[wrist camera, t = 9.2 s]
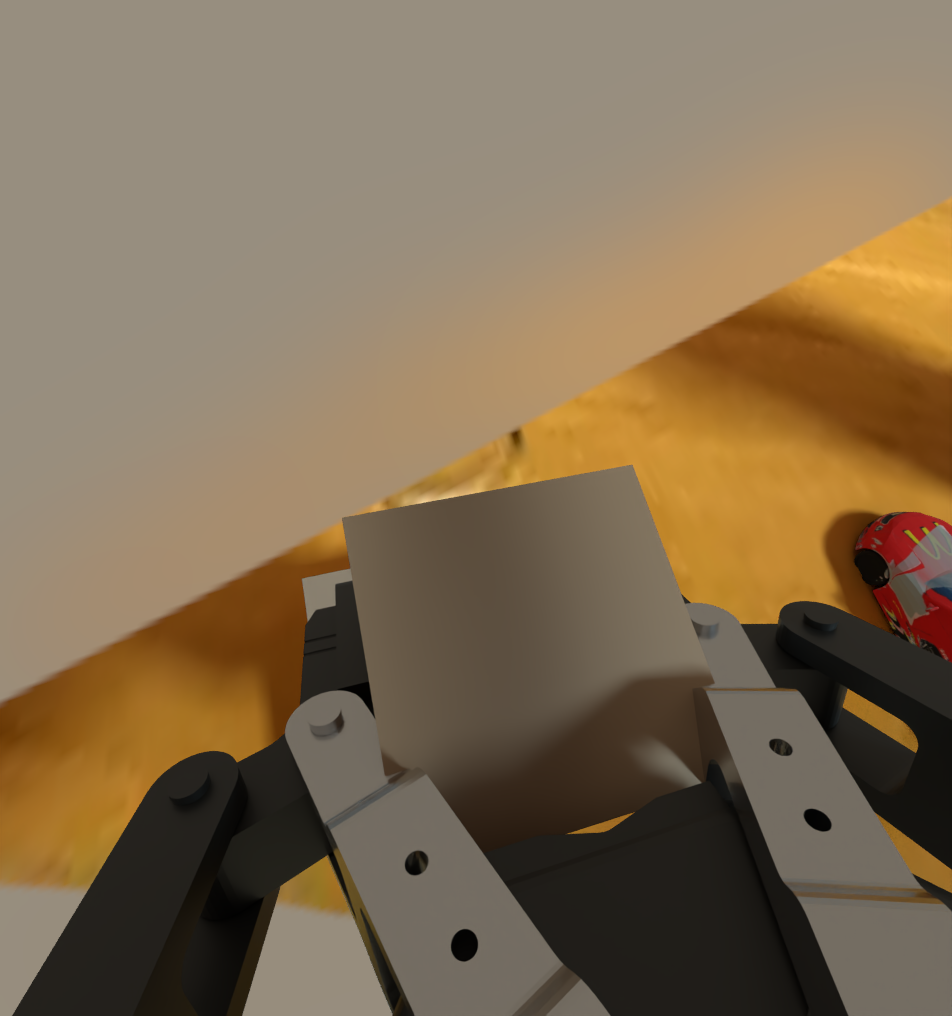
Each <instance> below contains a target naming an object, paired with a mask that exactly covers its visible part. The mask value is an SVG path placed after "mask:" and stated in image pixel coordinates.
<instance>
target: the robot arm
mask: <svg viewBox="0 0 952 1016" xmlns="http://www.w3.org/2000/svg"><path fill="white" fill-rule="evenodd" d="M681 595H682V594H681ZM682 597H683V600H684V603H685V605H686V608H687V611H688V613H689V616H690V619H691V621H692V624H693V627H694V629H695V632H696V635H697V637H698V640H699V642H700V645H701V648H702V650H703V653H704V656H705V658H706V661H707V664H708V666H709V669H710V672H711V674H712V677H713V680H714V682H715V684H711V685H708V686H703V687H699V688H693V689H692V691H693V699H694V706H695V714H696V722H697V729H698V737H699V744H700V752H701V760H702V767H703V775H704V782H703V783H700V784H697V785H694V786H691V787H687V788H684V789H681V790H678V791H675V792H672V793H669V794H666V795H663V796H660V797H656V798H655V799H653V800H652V801H651V802H649V803H648V804H646V805H645V806H643V807H642V808H641V809H639V810H638V811H636V812H635V813H633V814H632V815H631V816H629V817H628V818H626V819H625V820H624V821H622V822H621V823H619V824H618V825H616V826H615V827H614V828H612V829H610V830H609V831H606V832H601V833H584V834H563V835H542V836H535V837H532V838H529V839H526V840H523V841H520V842H517V843H514V844H510V845H507V846H504V847H501V848H498V849H495V850H492V851H489V852H486V853H482V851H481V850H480V849H479V847H478V846H477V844H476V843H475V841H474V840H473V839H472V837H471V836H470V834H469V833H468V832H467V830H466V829H465V827H464V826H463V825H462V823H461V822H460V820H459V819H458V818H457V816H456V815H455V813H454V812H453V811H452V809H451V808H450V806H449V805H448V804H447V802H446V801H445V799H444V798H443V797H442V795H441V794H440V792H439V791H438V790H437V788H436V787H435V785H434V784H433V783H432V781H431V780H430V778H429V777H428V776H427V774H426V773H425V772H424V771H423V770H422V769H421V768H419V767H416V768H414V769H413V770H410V769H406V770H404V771H401V772H398V773H395V774H392V775H388V776H385V774H384V768H383V762H382V756H381V750H380V744H379V738H378V732H377V726H376V720H375V714H374V708H373V702H372V696H371V690H370V684H369V678H368V672H367V666H366V660H365V654H364V648H363V642H362V636H361V629H360V623H359V617H358V611H357V605H356V599H355V593H354V587H353V581H348V582H343V583H338V584H335V604H336V606H331V607H327V608H322V609H317V610H315V612H314V613H313V615H312V616H311V618H310V619H309V621H308V622H307V624H306V625H305V640H304V641H305V644H304V657H303V669H302V684H301V699H300V706H299V707H298V708H297V709H296V710H295V711H294V712H293V714H292V715H291V716H290V718H289V720H288V722H287V724H286V729H285V734H284V735H283V736H281V737H280V738H279V739H278V740H277V741H275V742H274V743H272V744H271V745H269V746H268V747H266V748H264V749H262V750H261V751H259V752H257V753H255V754H253V755H251V756H249V757H247V758H245V759H243V760H241V761H239V762H236V761H235V759H234V758H233V757H232V756H231V755H229V754H227V753H224V752H219V751H209V752H203V753H199V754H196V755H193V756H190V757H188V758H186V759H184V760H182V761H180V762H178V763H177V764H175V765H174V766H172V767H171V768H170V769H168V770H167V771H166V772H164V773H163V774H162V775H161V776H160V777H159V778H158V779H157V780H156V781H155V783H154V784H153V785H152V786H151V788H150V789H149V791H148V792H147V794H146V795H145V797H144V799H143V800H142V802H141V804H140V805H139V807H138V808H137V810H136V812H135V813H134V815H133V817H132V818H131V820H130V822H129V823H128V825H127V827H126V828H125V830H124V832H123V833H122V835H121V837H120V838H119V840H118V842H117V843H116V845H115V847H114V848H113V850H112V851H111V853H110V855H109V856H108V858H107V860H106V861H105V863H104V865H103V866H102V868H101V870H100V871H99V873H98V875H97V876H96V878H95V880H94V881H93V883H92V885H91V886H90V888H89V890H88V891H87V893H86V894H85V896H84V898H83V899H82V901H81V903H80V904H79V906H78V908H77V909H76V911H75V913H74V914H73V916H72V918H71V919H70V921H69V923H68V924H67V926H66V928H65V929H64V931H63V933H62V934H61V936H60V937H59V939H58V941H57V942H56V944H55V946H54V948H53V949H52V951H51V952H50V954H49V956H48V957H47V959H46V961H45V962H44V964H43V966H42V967H41V969H40V971H39V972H38V974H37V976H36V977H35V979H34V980H33V982H32V984H31V986H30V987H29V989H28V990H27V992H26V994H25V995H24V997H23V999H22V1000H21V1002H20V1004H19V1005H18V1007H17V1009H16V1010H15V1012H14V1014H13V1015H12V1016H242V1014H243V1011H244V1007H245V1004H246V1001H247V997H248V994H249V991H250V987H251V984H252V981H253V977H254V974H255V971H256V967H257V964H258V961H259V957H260V954H261V951H262V947H263V944H264V941H265V937H266V934H267V930H268V927H269V924H270V920H271V917H272V913H273V910H274V907H275V904H276V900H277V897H278V894H279V890H280V886H281V885H283V884H284V883H286V882H287V881H289V880H290V879H292V878H293V877H295V876H296V875H298V874H299V873H301V872H302V871H304V870H305V869H307V868H308V867H310V866H312V865H313V864H315V863H316V862H318V861H319V860H321V859H322V858H324V857H325V856H327V858H328V860H329V862H330V865H331V867H332V869H333V872H334V874H335V876H336V879H337V881H338V883H339V886H340V888H341V890H342V893H343V895H344V897H345V900H346V902H347V904H348V907H349V909H350V911H351V914H352V916H353V918H354V920H355V923H356V925H357V927H358V930H359V932H360V935H361V937H362V940H363V942H364V945H365V947H366V950H367V953H368V955H369V958H370V961H371V963H372V966H373V968H374V971H375V973H376V976H377V978H378V981H379V983H380V985H381V988H382V991H383V993H384V995H385V998H386V1000H387V1002H388V1005H389V1007H390V1010H391V1012H392V1014H393V1016H952V893H950V892H948V891H946V890H944V889H942V888H940V887H938V886H936V885H934V884H932V883H930V882H928V881H926V880H924V879H922V878H920V877H918V876H916V875H914V874H912V873H911V872H910V870H909V868H908V867H907V865H906V863H905V862H904V860H903V859H902V857H901V855H900V854H899V852H898V850H897V849H896V847H895V845H894V844H893V842H892V841H891V839H890V837H889V836H888V834H887V832H886V831H885V829H884V828H883V826H882V824H881V823H880V821H879V819H878V818H877V816H876V814H875V813H877V814H878V815H879V816H881V817H882V818H883V819H885V820H886V821H887V822H889V823H890V824H891V825H893V826H894V827H895V828H897V829H898V830H899V831H901V832H902V833H903V834H905V835H906V836H907V837H909V838H910V839H911V840H913V841H914V842H916V843H917V844H918V845H920V846H921V847H922V848H924V849H925V850H926V851H928V852H929V853H930V854H932V855H933V856H934V857H936V858H937V859H938V860H940V861H941V862H942V863H944V864H945V865H946V866H948V867H949V868H950V869H952V663H951V662H949V661H947V660H945V659H943V658H941V657H939V656H937V655H935V654H933V653H930V652H928V651H926V650H924V649H922V648H920V647H918V646H916V645H914V644H912V643H910V642H907V641H905V640H903V639H901V638H899V637H897V636H895V635H893V634H891V633H889V632H887V631H884V630H882V629H880V628H878V627H876V626H874V625H872V624H870V623H868V622H866V621H863V620H861V619H859V618H857V617H855V616H853V615H851V614H849V613H847V612H845V611H843V610H840V609H838V608H836V607H833V606H830V605H827V604H823V603H818V602H809V601H800V602H793V603H790V604H787V605H786V606H784V607H783V608H782V609H781V611H780V615H779V620H778V624H740V623H739V621H738V620H737V619H736V618H735V617H734V616H733V615H732V614H730V613H729V612H727V611H725V610H724V609H721V608H719V607H716V606H713V605H709V604H703V603H690V602H689V601H688V600H687V599H686V598H685V597H684V596H683V595H682ZM847 689H850V690H851V691H853V692H855V693H857V694H858V695H860V696H862V697H863V698H865V699H867V700H868V701H870V702H872V703H874V704H875V705H877V706H879V707H880V708H882V709H884V710H885V711H887V712H889V713H890V714H892V715H894V716H896V717H897V718H899V719H900V720H902V721H903V722H904V723H906V724H907V725H908V726H909V727H910V728H911V730H912V731H913V732H914V734H915V735H916V738H917V740H918V750H917V752H916V753H915V752H913V751H912V750H910V749H908V748H907V747H905V746H903V745H902V744H900V743H899V742H897V741H895V740H894V739H892V738H891V737H889V736H887V735H886V734H884V733H883V732H881V731H879V730H878V729H876V728H875V727H873V726H871V725H870V724H868V723H867V722H865V721H863V720H862V719H860V718H859V717H857V716H855V715H854V714H852V713H851V712H849V711H847V710H846V709H844V708H843V703H844V700H845V696H846V692H847ZM874 812H875V813H874Z"/></svg>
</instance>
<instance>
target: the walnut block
mask: <svg viewBox="0 0 952 1016" xmlns="http://www.w3.org/2000/svg"><path fill="white" fill-rule="evenodd" d="M342 521H343V527H344V533H345V539H346V545H347V551H348V557H349V563H350V569H351V575H352V581H353V587H354V593H355V599H356V605H357V611H358V617H359V623H360V629H361V636H362V642H363V648H364V654H365V660H366V666H367V672H368V678H369V684H370V690H371V696H372V702H373V708H374V714H375V720H376V726H377V732H378V738H379V744H380V750H381V756H382V762H383V768H384V774H385V776H388V775H392V774H395V773H398V772H401V771H404V770H406V769H410V770H413V769H414V768H416V767H419V768H421V769H422V770H423V771H424V772H425V773H426V774H427V776H428V777H429V778H430V780H431V781H432V783H433V784H434V785H435V787H436V788H437V790H438V791H439V792H440V794H441V795H442V797H443V798H444V799H445V801H446V802H447V804H448V805H449V806H450V808H451V809H452V811H453V812H454V813H455V815H456V816H457V818H458V819H459V820H460V822H461V823H462V825H463V826H464V827H465V829H466V830H467V832H468V833H469V834H470V836H471V837H472V839H473V840H474V841H475V843H476V844H477V846H478V847H479V849H480V850H481V851H482V853H486V852H489V851H492V850H495V849H498V848H501V847H504V846H507V845H510V844H514V843H517V842H520V841H523V840H526V839H529V838H532V837H535V836H542V835H563V834H568V833H571V832H574V831H577V830H580V829H583V828H586V827H589V826H592V825H595V824H599V823H602V822H605V821H608V820H611V819H614V818H617V817H620V816H623V815H626V814H630V813H633V812H636V811H638V810H639V809H641V808H642V807H643V806H645V805H646V804H648V803H649V802H651V801H652V800H653V799H655V798H656V797H660V796H663V795H666V794H669V793H672V792H675V791H678V790H681V789H684V788H687V787H691V786H694V785H697V784H700V783H703V782H704V775H703V767H702V760H701V752H700V744H699V737H698V729H697V722H696V714H695V706H694V699H693V691H692V689H693V688H699V687H703V686H708V685H711V684H715V682H714V680H713V677H712V674H711V672H710V669H709V666H708V664H707V661H706V658H705V656H704V653H703V650H702V648H701V645H700V642H699V640H698V637H697V635H696V632H695V629H694V627H693V624H692V621H691V619H690V616H689V613H688V611H687V608H686V605H685V603H684V600H683V597H682V595H681V592H680V590H679V587H678V584H677V582H676V579H675V576H674V574H673V571H672V568H671V566H670V563H669V560H668V558H667V555H666V553H665V550H664V547H663V545H662V542H661V539H660V537H659V534H658V531H657V529H656V526H655V523H654V521H653V518H652V515H651V513H650V510H649V508H648V505H647V502H646V500H645V497H644V494H643V492H642V489H641V486H640V484H639V481H638V478H637V476H636V473H635V470H634V468H633V465H628V466H623V467H617V468H612V469H607V470H601V471H596V472H590V473H585V474H579V475H574V476H568V477H563V478H557V479H552V480H546V481H541V482H536V483H530V484H525V485H519V486H514V487H508V488H503V489H497V490H492V491H486V492H481V493H475V494H470V495H465V496H459V497H454V498H448V499H443V500H437V501H432V502H426V503H421V504H415V505H410V506H404V507H399V508H394V509H388V510H383V511H377V512H372V513H366V514H361V515H355V516H350V517H344V518H342Z"/></svg>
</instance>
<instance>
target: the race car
mask: <svg viewBox="0 0 952 1016" xmlns="http://www.w3.org/2000/svg"><path fill="white" fill-rule="evenodd" d="M862 548H868V550H865V551H862V552H860V553H858V554H857V555H856V557H855V559H854V564H855V565H856V566H857V567H858V569H859V571H860V573H861V574H862V579H863V580H864V581H865V582H866V583H868V584H871V585H882V584H885V583H887V584H886V585H885V586H883V587H881V588H879V589H875V590H872V591H873V593H874V595H875V597H876V599H877V600H878V602H879V604H880V606H881V608H882V610H883V612H884V614H885V615H886V617H887V619H888V621H889V623H890V625H891V627H892V629H893V631H894V632H895V634H896V636H897V637H899V638H901V639H903V640H905V641H907V642H910V643H912V644H914V645H916V646H918V647H920V648H922V649H924V650H926V651H928V652H930V653H933V654H935V655H937V656H939V657H941V658H943V659H945V660H947V661H949V662H951V663H952V526H951V525H949V524H948V523H946V522H945V521H943V520H940V519H938V518H935V517H932V516H928V515H925V514H922V513H917V512H894V513H889V514H886V515H883V516H881V517H880V518H878V519H876V520H875V521H873V522H871V523H870V524H869V525H868V526H867V527H866V528H865V529H864V530H863V531H862V533H861V535H860V537H859V539H858V541H857V544H856V548H855V549H856V550H859V549H862Z"/></svg>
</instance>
